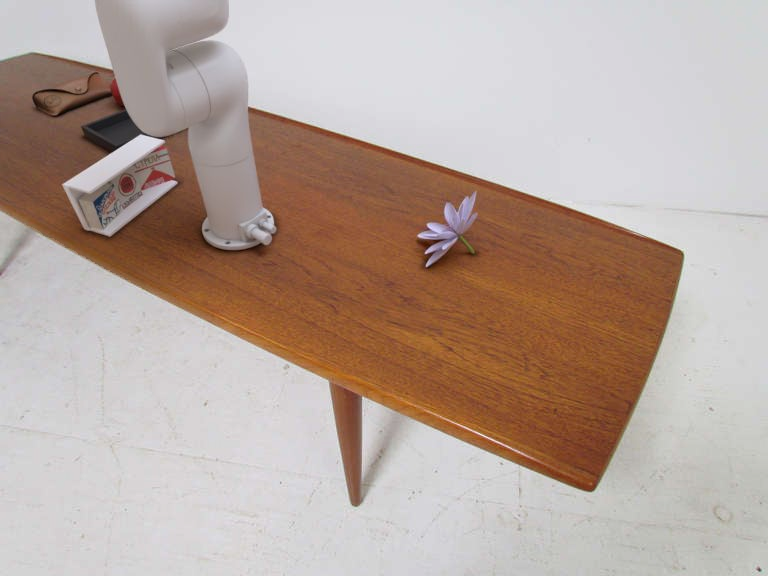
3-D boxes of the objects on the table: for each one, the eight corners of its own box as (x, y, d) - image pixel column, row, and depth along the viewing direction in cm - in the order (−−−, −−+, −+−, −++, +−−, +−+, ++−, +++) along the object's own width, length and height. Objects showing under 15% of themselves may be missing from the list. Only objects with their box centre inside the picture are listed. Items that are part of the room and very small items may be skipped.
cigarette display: (109, 237, 87) (88, 192, 81) (84, 229, 89) (61, 184, 82) (181, 180, 101) (169, 137, 94) (159, 173, 102) (145, 131, 95)
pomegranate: (133, 115, 120) (120, 76, 113) (106, 105, 123) (92, 66, 116) (166, 101, 126) (155, 63, 119) (139, 91, 129) (127, 54, 123)
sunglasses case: (55, 116, 117) (35, 88, 114) (47, 123, 122) (28, 96, 119) (121, 90, 128) (105, 64, 125) (112, 97, 133) (96, 73, 130)
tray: (209, 117, 120) (206, 107, 118) (120, 157, 106) (116, 146, 104) (173, 101, 125) (171, 91, 124) (85, 137, 112) (80, 126, 110)
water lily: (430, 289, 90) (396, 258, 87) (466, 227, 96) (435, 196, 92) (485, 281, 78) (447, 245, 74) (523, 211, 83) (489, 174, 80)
